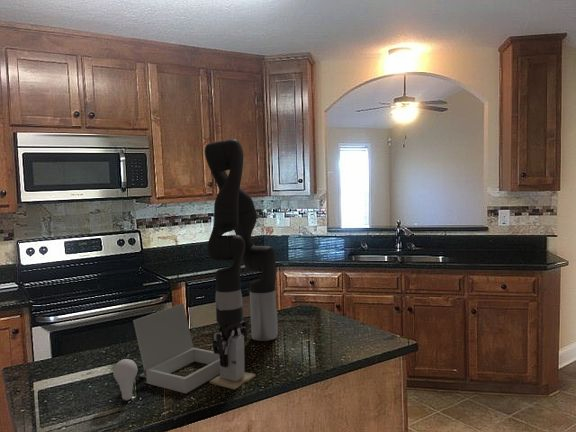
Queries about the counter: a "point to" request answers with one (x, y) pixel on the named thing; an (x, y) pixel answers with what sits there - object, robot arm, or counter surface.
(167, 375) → the case
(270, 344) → the counter surface
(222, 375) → the skincare box
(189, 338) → the lid
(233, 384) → the mat
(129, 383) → the lightbulb
